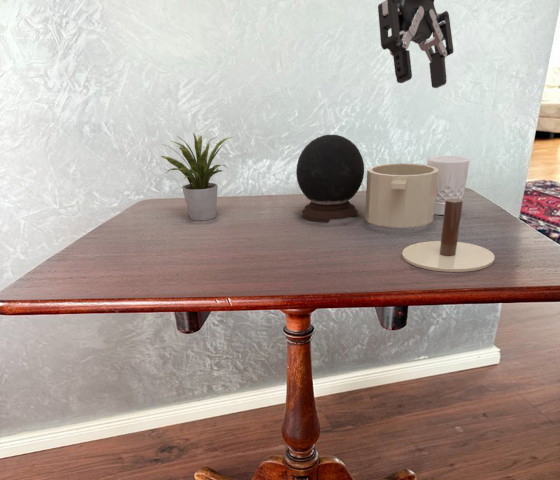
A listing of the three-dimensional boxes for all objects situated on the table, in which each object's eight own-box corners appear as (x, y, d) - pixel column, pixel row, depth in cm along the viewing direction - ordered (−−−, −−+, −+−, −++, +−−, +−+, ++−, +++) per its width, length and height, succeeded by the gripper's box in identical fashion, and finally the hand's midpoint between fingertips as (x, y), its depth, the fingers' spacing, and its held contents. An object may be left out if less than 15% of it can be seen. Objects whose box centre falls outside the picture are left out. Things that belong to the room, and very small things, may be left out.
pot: (433, 211, 110) (439, 161, 105) (431, 236, 95) (437, 179, 90) (371, 209, 113) (373, 160, 108) (359, 233, 98) (361, 178, 93)
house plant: (222, 204, 121) (215, 124, 113) (253, 216, 111) (248, 129, 102) (162, 215, 114) (150, 130, 106) (190, 228, 104) (179, 136, 96)
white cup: (448, 218, 104) (455, 163, 99) (414, 211, 110) (419, 159, 105) (470, 210, 109) (478, 157, 104) (436, 204, 114) (442, 154, 109)
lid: (490, 249, 87) (500, 191, 83) (496, 278, 76) (508, 213, 71) (404, 245, 91) (409, 189, 86) (398, 273, 79) (403, 210, 75)
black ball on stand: (284, 215, 111) (281, 135, 103) (332, 204, 118) (333, 129, 110) (326, 227, 102) (327, 141, 94) (376, 215, 108) (380, 133, 101)
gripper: (399, -65, 70) (414, 69, 73) (460, -40, 79) (471, 78, 82) (356, -33, 76) (372, 89, 79) (418, -14, 85) (429, 96, 88)
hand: (422, 83), depth 81 cm, fingers open, 8 cm apart
